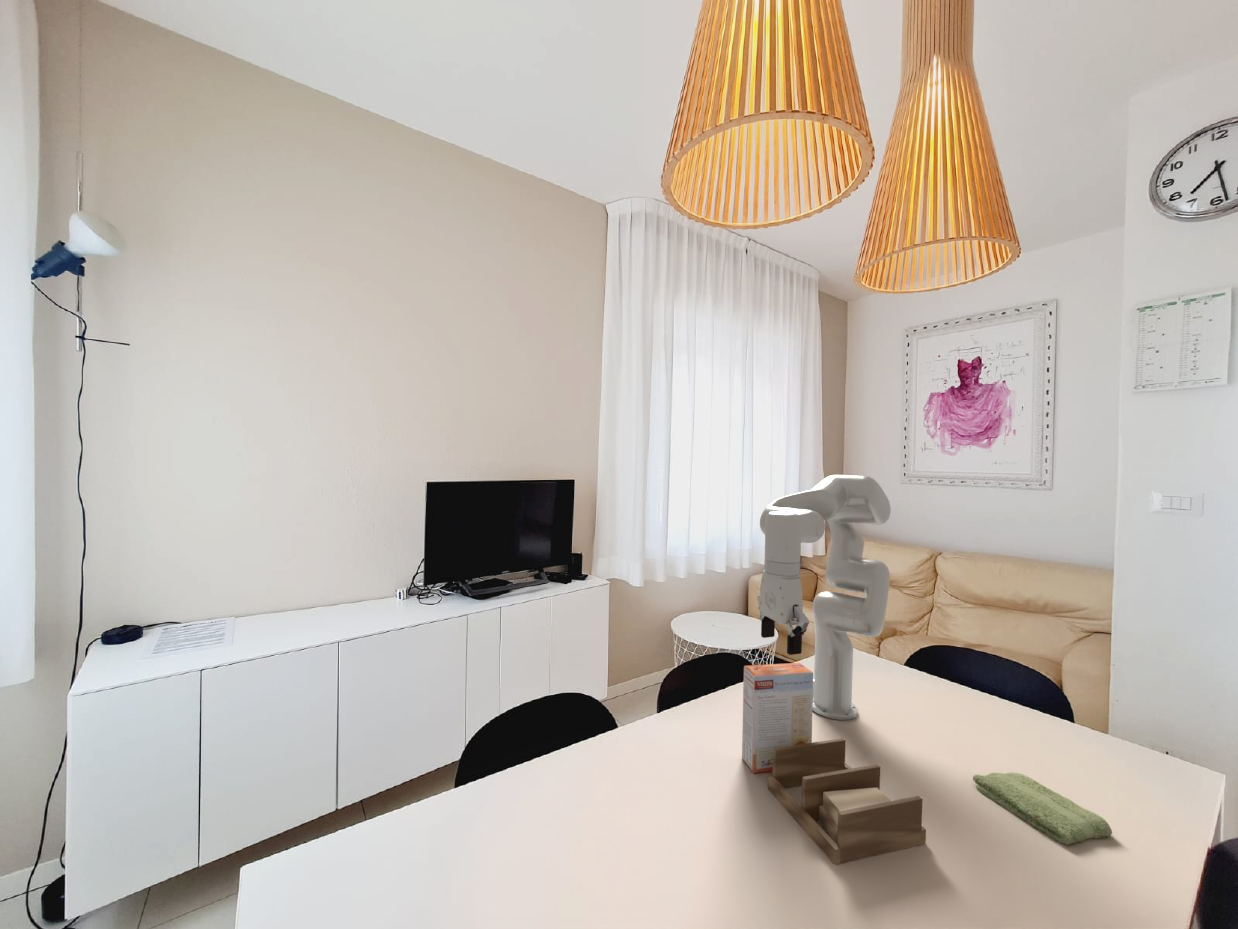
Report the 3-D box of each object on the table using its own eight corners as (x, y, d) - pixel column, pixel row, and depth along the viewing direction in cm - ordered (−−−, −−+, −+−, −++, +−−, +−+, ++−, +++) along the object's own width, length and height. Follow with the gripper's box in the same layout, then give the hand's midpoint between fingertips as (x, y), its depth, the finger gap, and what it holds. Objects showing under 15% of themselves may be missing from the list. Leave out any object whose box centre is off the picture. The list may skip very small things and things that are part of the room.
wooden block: (818, 821, 89) (819, 788, 89) (879, 819, 90) (880, 787, 90) (836, 849, 83) (838, 814, 83) (903, 847, 84) (904, 812, 84)
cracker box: (796, 752, 110) (799, 661, 111) (812, 768, 104) (815, 672, 105) (739, 757, 108) (743, 663, 108) (752, 774, 102) (755, 675, 102)
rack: (767, 788, 97) (769, 749, 97) (845, 775, 103) (846, 737, 103) (834, 865, 79) (836, 816, 79) (925, 843, 84) (927, 798, 84)
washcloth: (1014, 778, 104) (1015, 763, 104) (1116, 840, 87) (1117, 822, 87) (967, 786, 101) (967, 771, 101) (1064, 852, 84) (1064, 834, 84)
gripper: (746, 560, 113) (744, 632, 114) (791, 578, 97) (790, 663, 97) (773, 559, 116) (772, 630, 116) (823, 576, 99) (821, 659, 99)
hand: (780, 645), depth 106 cm, fingers open, 9 cm apart
